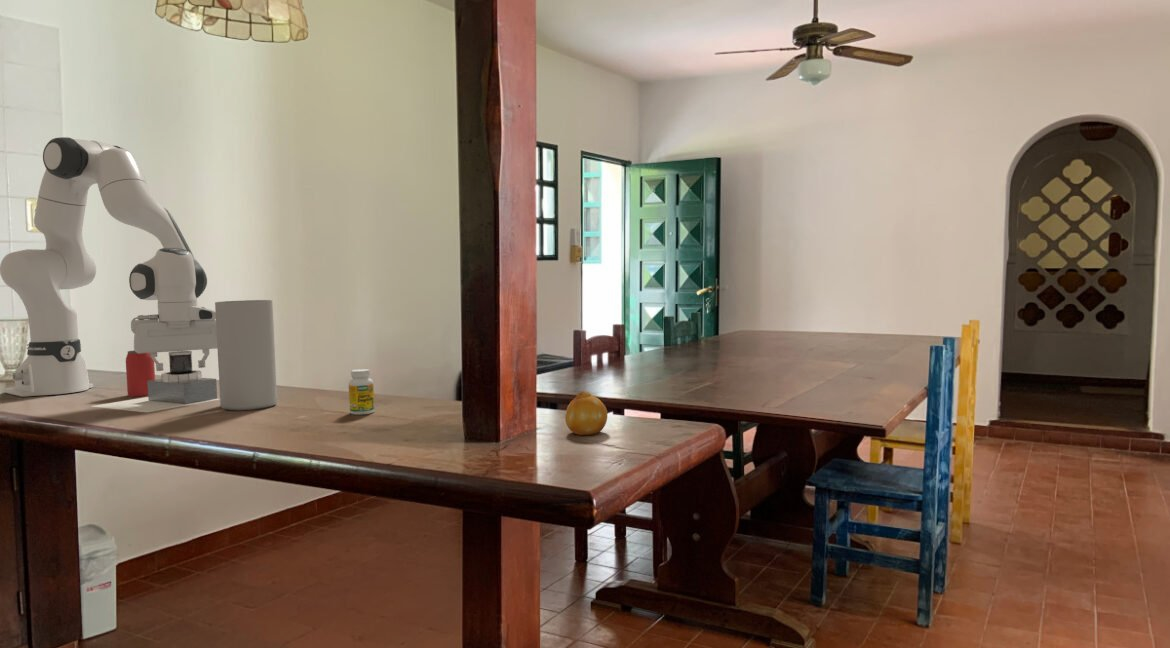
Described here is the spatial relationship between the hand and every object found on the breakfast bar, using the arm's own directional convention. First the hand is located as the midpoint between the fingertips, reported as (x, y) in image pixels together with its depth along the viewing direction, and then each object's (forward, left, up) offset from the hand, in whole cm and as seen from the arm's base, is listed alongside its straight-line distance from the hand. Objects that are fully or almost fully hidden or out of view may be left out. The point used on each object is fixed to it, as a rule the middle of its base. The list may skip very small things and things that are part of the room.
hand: (181, 369), depth 207 cm
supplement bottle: (+55, +5, -8) cm, 56 cm away
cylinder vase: (+23, +1, -8) cm, 25 cm away
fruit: (+112, +5, -8) cm, 112 cm away
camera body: (0, 0, -8) cm, 8 cm away
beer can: (-18, +1, -8) cm, 20 cm away
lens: (0, 0, -3) cm, 3 cm away
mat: (-2, -6, -8) cm, 10 cm away
